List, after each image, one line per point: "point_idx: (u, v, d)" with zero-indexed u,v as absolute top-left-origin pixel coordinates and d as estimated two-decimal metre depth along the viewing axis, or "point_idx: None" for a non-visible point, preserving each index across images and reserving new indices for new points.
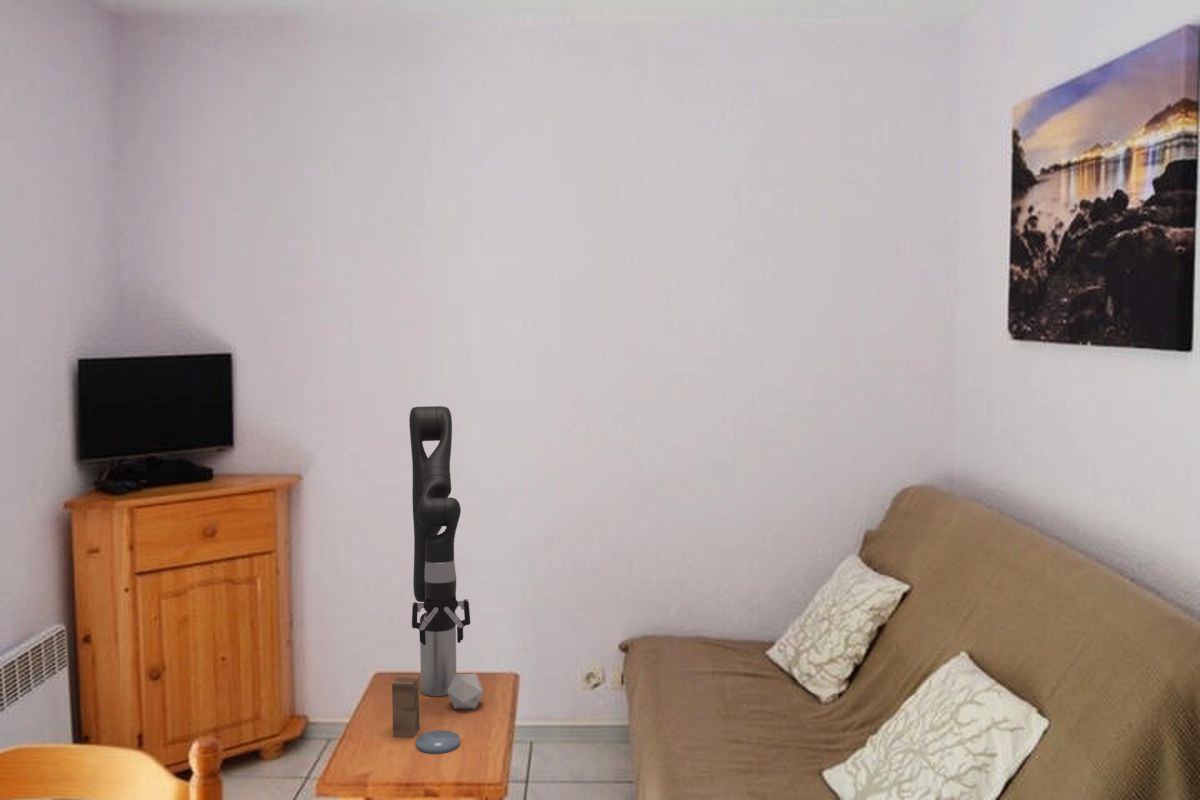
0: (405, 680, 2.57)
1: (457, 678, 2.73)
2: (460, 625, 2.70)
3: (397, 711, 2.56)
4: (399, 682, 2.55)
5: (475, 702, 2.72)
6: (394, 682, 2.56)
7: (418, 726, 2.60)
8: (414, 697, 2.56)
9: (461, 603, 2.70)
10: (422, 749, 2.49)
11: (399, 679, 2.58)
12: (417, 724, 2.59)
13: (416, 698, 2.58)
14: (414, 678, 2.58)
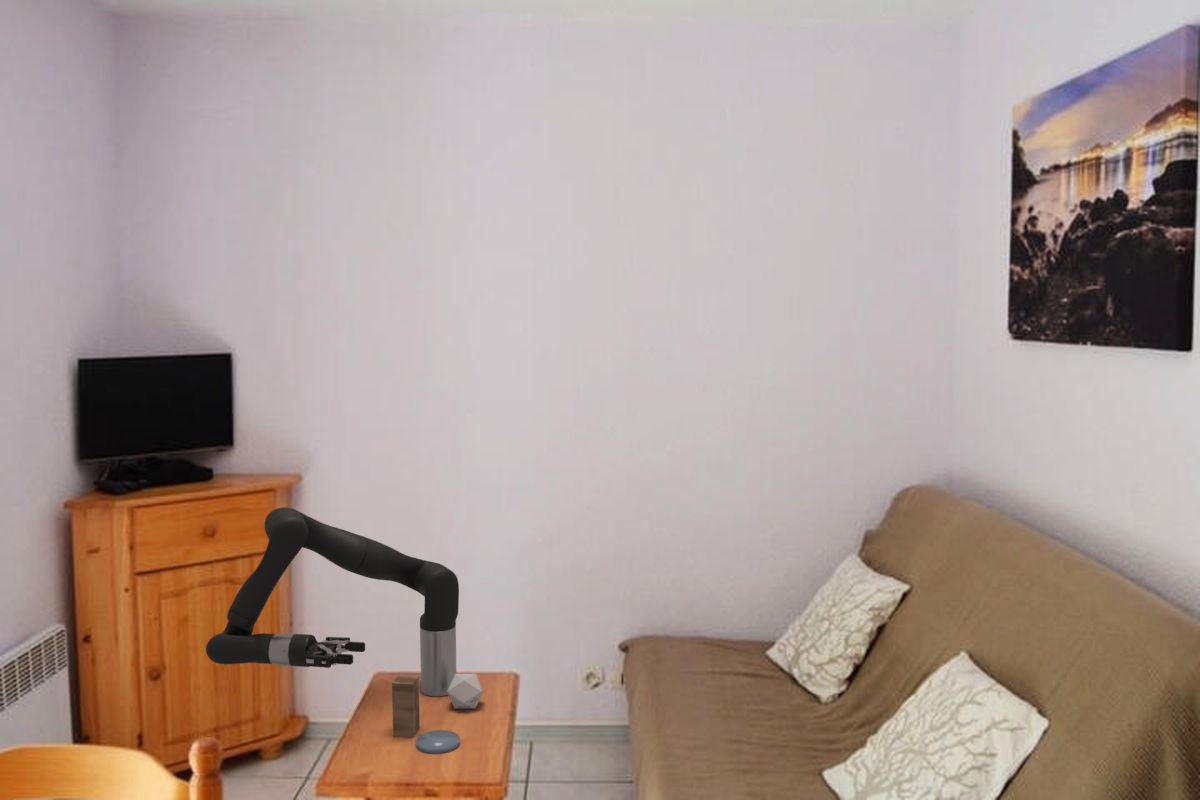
0: (405, 680, 2.57)
1: (457, 678, 2.73)
2: None
3: (397, 711, 2.56)
4: (399, 682, 2.55)
5: (475, 702, 2.72)
6: (394, 682, 2.56)
7: (418, 726, 2.60)
8: (414, 697, 2.56)
9: None
10: (422, 749, 2.49)
11: (399, 679, 2.58)
12: (417, 724, 2.59)
13: (416, 698, 2.58)
14: (414, 678, 2.58)
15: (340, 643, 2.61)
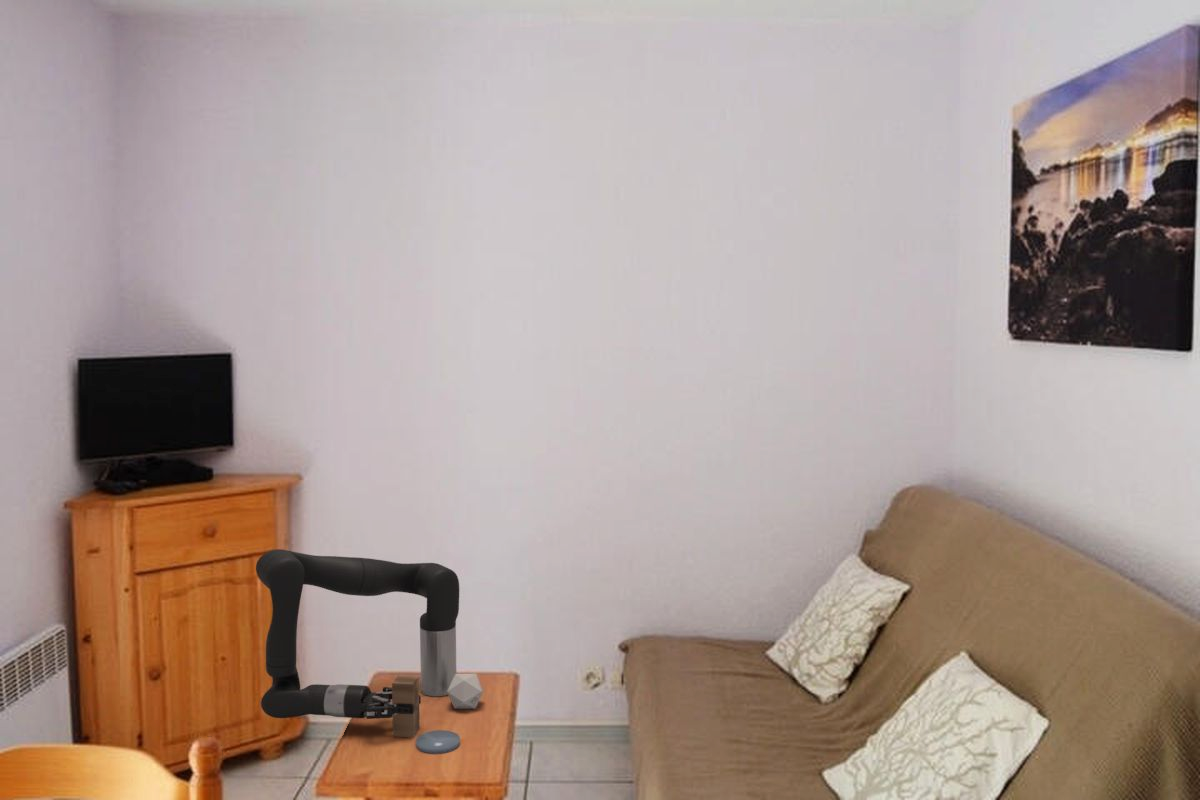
0: (405, 680, 2.57)
1: (457, 678, 2.73)
2: None
3: None
4: (399, 682, 2.55)
5: (475, 702, 2.72)
6: (394, 682, 2.56)
7: (418, 726, 2.60)
8: (414, 697, 2.56)
9: None
10: (422, 749, 2.49)
11: (399, 679, 2.58)
12: (417, 724, 2.59)
13: (416, 697, 2.58)
14: (414, 678, 2.58)
15: None
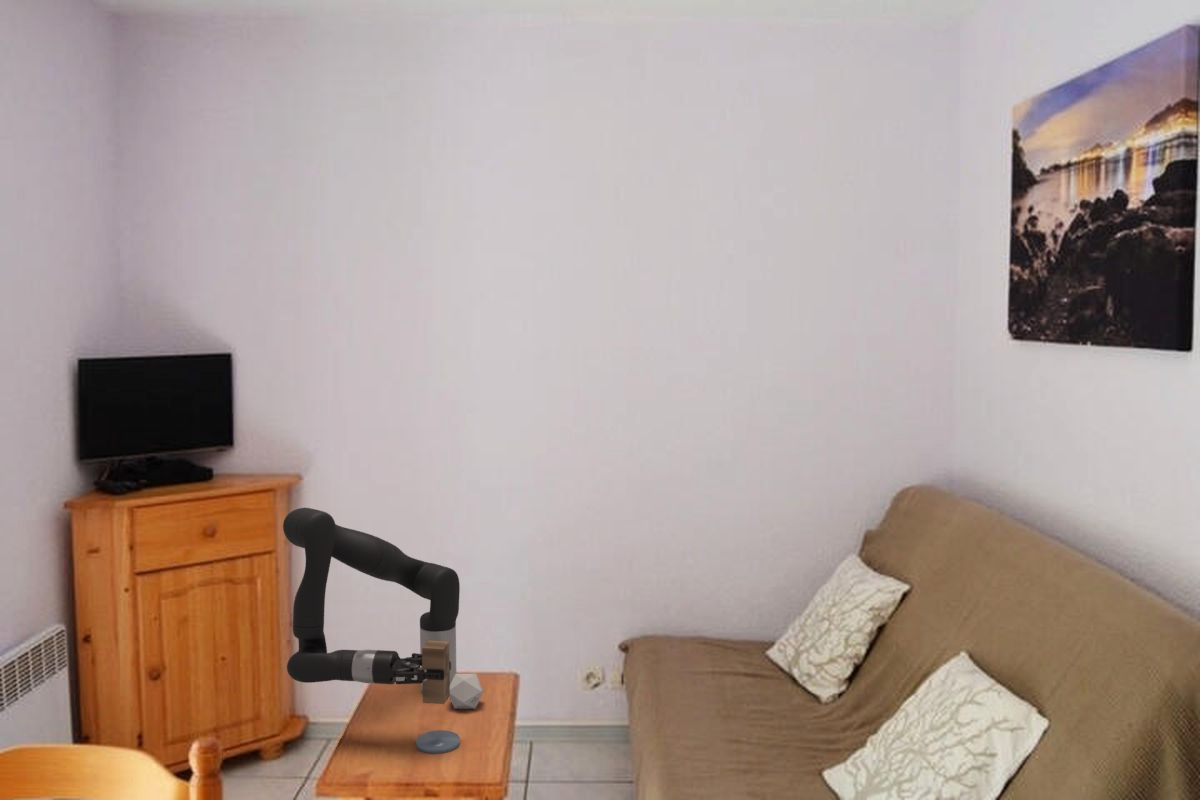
0: (435, 645, 2.49)
1: (457, 678, 2.73)
2: None
3: None
4: (429, 647, 2.48)
5: (475, 702, 2.72)
6: (424, 647, 2.48)
7: (448, 693, 2.52)
8: (444, 662, 2.48)
9: None
10: (422, 749, 2.49)
11: (429, 644, 2.50)
12: (447, 691, 2.52)
13: (447, 663, 2.51)
14: (445, 643, 2.51)
15: None
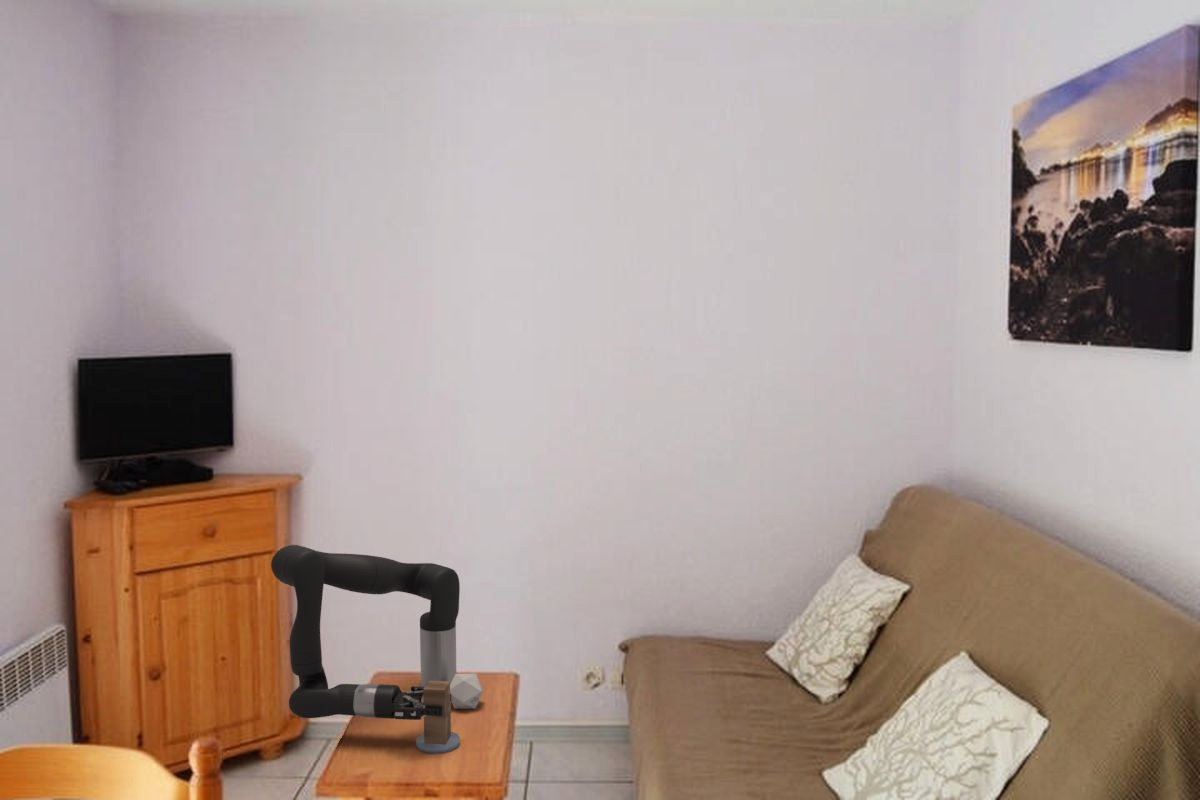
0: (436, 686, 2.50)
1: (457, 678, 2.73)
2: None
3: (428, 718, 2.49)
4: (430, 688, 2.49)
5: (475, 702, 2.72)
6: (425, 688, 2.49)
7: (449, 732, 2.54)
8: (446, 703, 2.49)
9: None
10: (422, 749, 2.49)
11: (430, 685, 2.51)
12: (449, 730, 2.53)
13: (448, 703, 2.52)
14: (446, 683, 2.52)
15: None
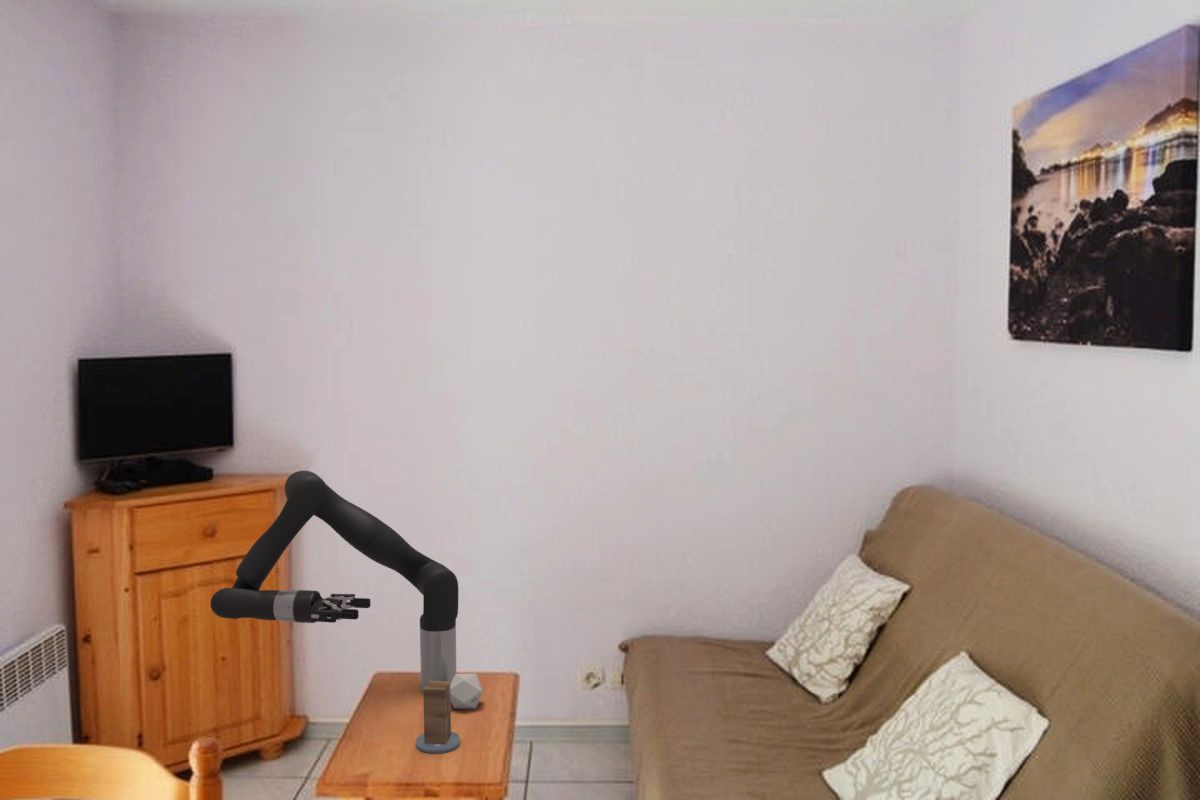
0: (436, 686, 2.50)
1: (457, 678, 2.73)
2: None
3: (429, 718, 2.49)
4: (430, 688, 2.49)
5: (475, 702, 2.72)
6: (425, 688, 2.49)
7: (449, 733, 2.54)
8: (446, 703, 2.49)
9: None
10: (422, 749, 2.49)
11: (430, 684, 2.51)
12: (449, 731, 2.53)
13: (448, 703, 2.52)
14: (446, 683, 2.52)
15: (345, 599, 2.60)
